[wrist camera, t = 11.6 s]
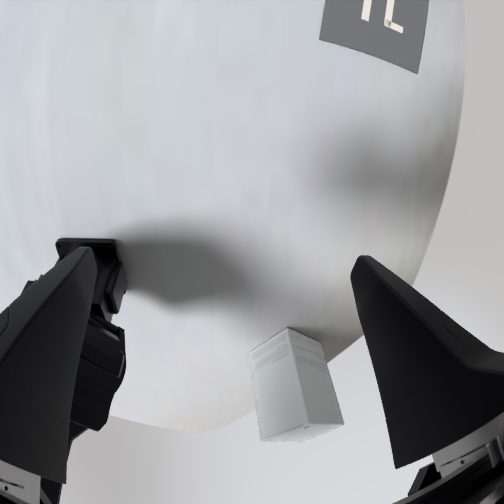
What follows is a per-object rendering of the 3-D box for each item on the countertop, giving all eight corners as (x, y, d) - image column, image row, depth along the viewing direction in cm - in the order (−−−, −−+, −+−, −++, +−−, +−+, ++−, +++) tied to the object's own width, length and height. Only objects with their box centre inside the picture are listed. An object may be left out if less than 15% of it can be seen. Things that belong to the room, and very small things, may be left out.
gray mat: (319, 39, 15) (319, 39, 15) (333, -53, 9) (333, -53, 9) (416, 73, 16) (417, 73, 16) (428, -10, 11) (429, -10, 11)
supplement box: (246, 352, 36) (257, 442, 26) (287, 325, 33) (310, 423, 24) (282, 365, 40) (298, 444, 30) (322, 342, 37) (346, 425, 27)
